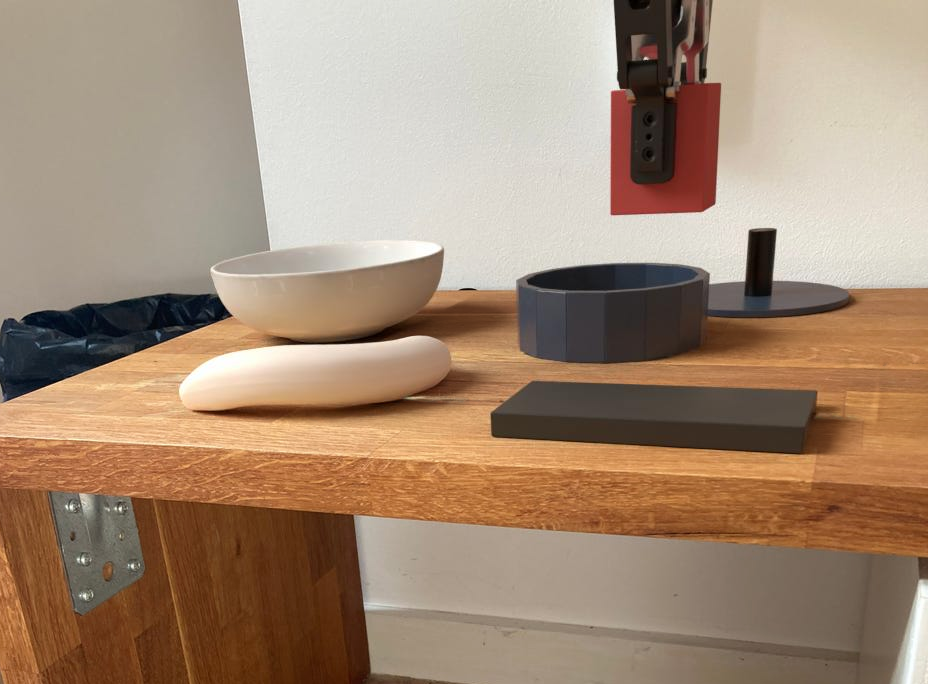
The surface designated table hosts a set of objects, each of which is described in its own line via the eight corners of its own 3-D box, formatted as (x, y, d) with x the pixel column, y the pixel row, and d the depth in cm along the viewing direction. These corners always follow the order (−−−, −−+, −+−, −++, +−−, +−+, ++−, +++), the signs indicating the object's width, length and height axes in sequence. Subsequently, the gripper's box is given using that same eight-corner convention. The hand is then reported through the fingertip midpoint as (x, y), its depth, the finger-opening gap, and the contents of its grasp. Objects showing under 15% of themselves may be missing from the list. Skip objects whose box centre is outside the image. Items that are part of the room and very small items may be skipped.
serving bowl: (300, 310, 108) (292, 240, 104) (483, 314, 99) (480, 238, 96) (174, 353, 91) (159, 272, 88) (381, 362, 83) (373, 272, 79)
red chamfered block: (715, 204, 57) (721, 82, 54) (703, 212, 54) (708, 82, 51) (627, 208, 59) (628, 90, 56) (609, 215, 56) (610, 90, 53)
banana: (163, 427, 69) (217, 376, 82) (446, 426, 68) (455, 376, 81) (152, 352, 66) (209, 313, 79) (445, 351, 65) (455, 311, 78)
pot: (718, 331, 85) (722, 261, 83) (684, 372, 73) (688, 292, 71) (550, 329, 91) (549, 263, 88) (493, 366, 79) (490, 292, 76)
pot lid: (853, 293, 97) (862, 217, 94) (842, 326, 84) (851, 239, 81) (686, 293, 103) (689, 221, 99) (652, 323, 90) (655, 242, 87)
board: (815, 414, 62) (818, 390, 61) (802, 454, 56) (805, 427, 55) (532, 402, 69) (531, 380, 68) (490, 436, 62) (489, 412, 61)
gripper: (733, -280, 41) (708, 189, 49) (775, -201, 52) (750, 167, 60) (552, -244, 44) (556, 194, 51) (630, -177, 55) (624, 173, 63)
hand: (661, 178), depth 56 cm, fingers closed on red chamfered block, 4 cm apart
